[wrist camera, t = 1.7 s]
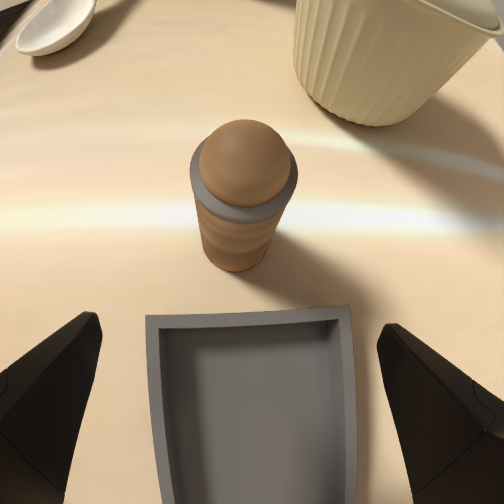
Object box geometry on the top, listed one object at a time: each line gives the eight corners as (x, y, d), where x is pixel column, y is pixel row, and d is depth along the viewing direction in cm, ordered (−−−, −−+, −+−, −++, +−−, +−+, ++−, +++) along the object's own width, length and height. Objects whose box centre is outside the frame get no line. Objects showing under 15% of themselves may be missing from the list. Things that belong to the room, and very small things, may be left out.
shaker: (270, 271, 23) (319, 192, 12) (202, 273, 23) (182, 194, 11) (265, 208, 25) (300, 96, 13) (201, 210, 24) (188, 94, 12)
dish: (338, 517, 18) (353, 537, 15) (178, 533, 17) (173, 556, 13) (331, 311, 23) (349, 305, 20) (156, 319, 22) (145, 314, 18)
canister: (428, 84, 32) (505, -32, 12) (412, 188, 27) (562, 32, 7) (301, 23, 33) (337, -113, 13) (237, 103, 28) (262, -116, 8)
